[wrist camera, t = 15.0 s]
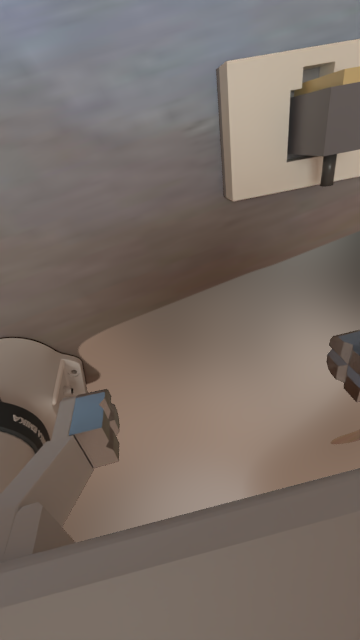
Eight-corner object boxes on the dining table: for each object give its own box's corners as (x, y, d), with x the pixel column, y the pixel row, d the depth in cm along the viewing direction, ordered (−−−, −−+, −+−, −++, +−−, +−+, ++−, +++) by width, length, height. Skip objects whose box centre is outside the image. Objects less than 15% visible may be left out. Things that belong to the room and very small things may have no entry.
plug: (312, 175, 34) (357, 183, 28) (281, 181, 34) (319, 191, 28) (321, 80, 29) (379, 62, 23) (285, 87, 29) (333, 71, 23)
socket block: (359, 169, 36) (380, 172, 33) (223, 196, 35) (232, 201, 32) (383, 41, 29) (411, 30, 26) (216, 69, 28) (226, 61, 25)
